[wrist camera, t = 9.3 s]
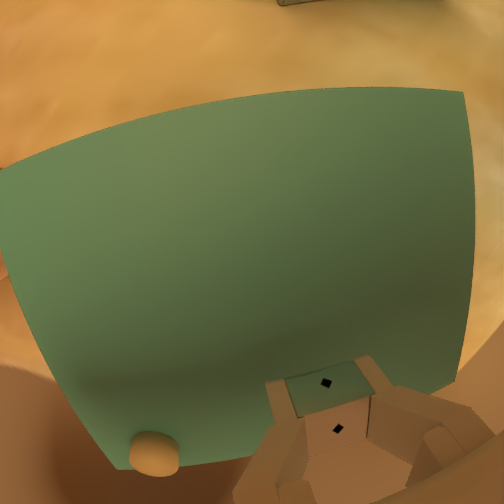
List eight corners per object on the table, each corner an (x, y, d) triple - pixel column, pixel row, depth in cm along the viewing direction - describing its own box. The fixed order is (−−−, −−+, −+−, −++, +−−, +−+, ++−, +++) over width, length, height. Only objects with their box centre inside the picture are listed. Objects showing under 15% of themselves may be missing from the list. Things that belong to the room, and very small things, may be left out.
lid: (446, 94, 11) (480, 89, 9) (444, 371, 16) (465, 391, 14) (-1, 176, 10) (-34, 181, 7) (119, 454, 14) (114, 485, 12)
